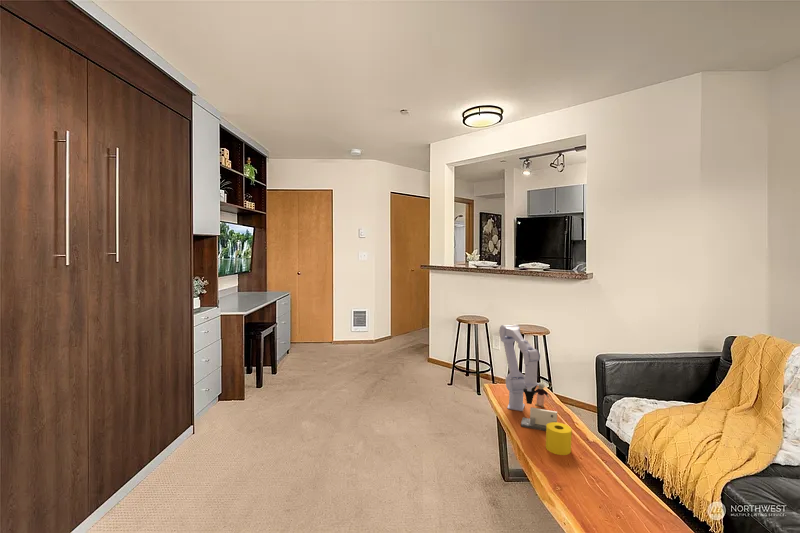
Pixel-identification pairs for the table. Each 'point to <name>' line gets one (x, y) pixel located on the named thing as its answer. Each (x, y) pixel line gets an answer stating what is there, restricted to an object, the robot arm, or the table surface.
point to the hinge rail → (532, 424)
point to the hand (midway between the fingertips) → (530, 400)
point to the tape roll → (558, 438)
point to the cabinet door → (543, 416)
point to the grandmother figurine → (540, 395)
